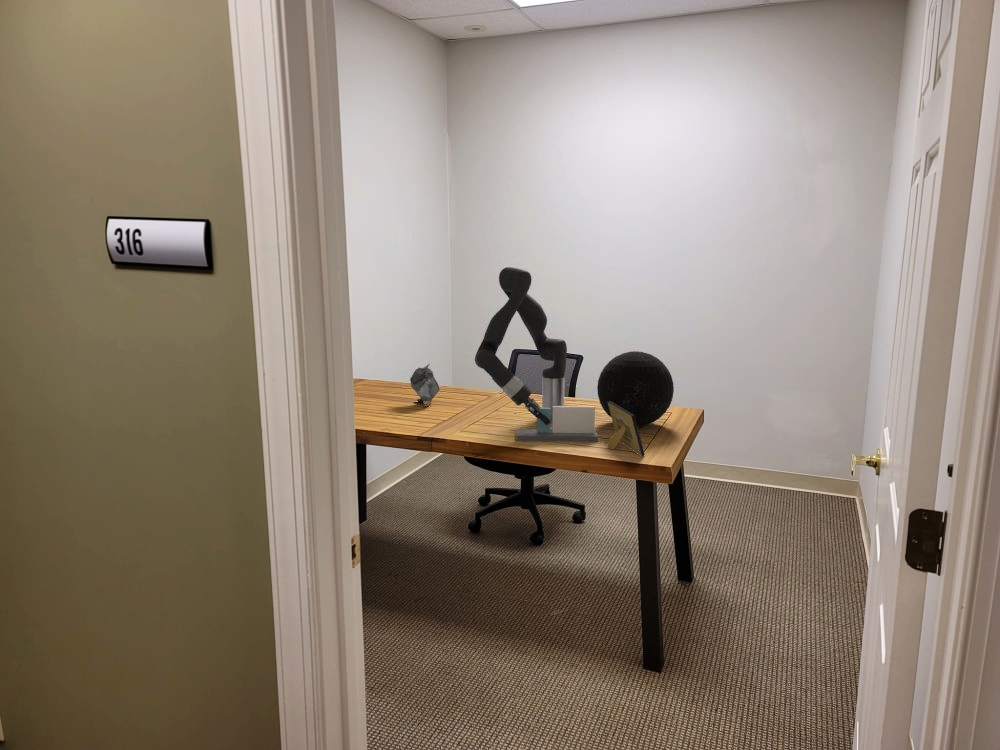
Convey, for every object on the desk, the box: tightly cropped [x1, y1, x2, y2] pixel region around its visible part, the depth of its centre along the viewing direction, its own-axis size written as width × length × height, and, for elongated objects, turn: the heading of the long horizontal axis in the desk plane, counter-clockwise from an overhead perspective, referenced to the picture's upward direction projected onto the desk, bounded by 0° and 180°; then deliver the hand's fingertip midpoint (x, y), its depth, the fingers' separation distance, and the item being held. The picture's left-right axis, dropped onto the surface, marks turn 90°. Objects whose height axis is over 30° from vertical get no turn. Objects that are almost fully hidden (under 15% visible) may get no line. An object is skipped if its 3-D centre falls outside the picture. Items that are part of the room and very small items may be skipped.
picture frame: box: [606, 401, 646, 457], centre depth 249 cm, size 23×9×15 cm, turn 12°
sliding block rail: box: [516, 405, 599, 443], centre depth 263 cm, size 10×30×12 cm, turn 88°
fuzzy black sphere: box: [596, 350, 675, 427], centre depth 280 cm, size 30×30×30 cm
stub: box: [536, 407, 552, 432], centre depth 263 cm, size 1×5×9 cm, turn 88°
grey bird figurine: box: [409, 363, 441, 407], centre depth 317 cm, size 14×15×18 cm
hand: (548, 422), depth 263 cm, fingers open, 3 cm apart
